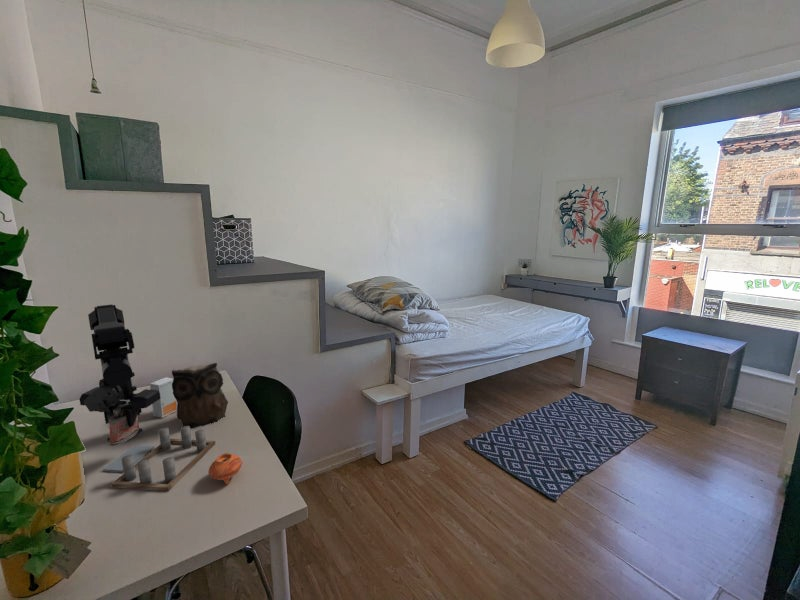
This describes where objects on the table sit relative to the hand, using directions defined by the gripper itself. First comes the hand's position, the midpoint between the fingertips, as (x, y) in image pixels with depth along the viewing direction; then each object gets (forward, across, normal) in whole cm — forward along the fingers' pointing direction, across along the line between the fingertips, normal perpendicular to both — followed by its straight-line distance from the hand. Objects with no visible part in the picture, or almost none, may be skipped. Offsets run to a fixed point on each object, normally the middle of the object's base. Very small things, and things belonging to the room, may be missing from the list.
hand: (125, 426), depth 101 cm
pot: (+10, +31, -5) cm, 33 cm away
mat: (+10, 0, 0) cm, 10 cm away
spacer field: (+10, +12, -1) cm, 16 cm away
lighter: (+4, -1, 0) cm, 4 cm away
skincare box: (+10, -8, +25) cm, 28 cm away
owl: (+10, +7, +23) cm, 26 cm away
